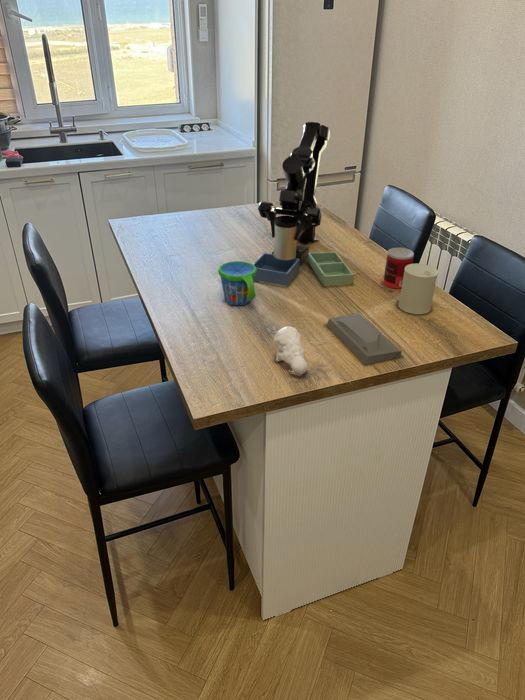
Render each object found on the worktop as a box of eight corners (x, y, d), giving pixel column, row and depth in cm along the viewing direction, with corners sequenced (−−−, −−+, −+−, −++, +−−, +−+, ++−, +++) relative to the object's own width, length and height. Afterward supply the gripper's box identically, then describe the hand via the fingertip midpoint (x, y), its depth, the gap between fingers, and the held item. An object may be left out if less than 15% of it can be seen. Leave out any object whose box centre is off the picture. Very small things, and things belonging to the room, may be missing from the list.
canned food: (410, 283, 171) (416, 250, 165) (404, 293, 165) (410, 259, 159) (386, 278, 174) (391, 245, 168) (379, 288, 168) (385, 254, 162)
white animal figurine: (297, 321, 132) (318, 350, 123) (294, 349, 137) (313, 379, 128) (272, 325, 130) (292, 355, 121) (270, 353, 135) (288, 384, 126)
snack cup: (210, 292, 163) (209, 260, 157) (243, 286, 167) (243, 255, 161) (231, 316, 151) (231, 282, 145) (265, 308, 155) (266, 275, 149)
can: (412, 317, 153) (420, 278, 146) (391, 303, 159) (397, 265, 153) (437, 310, 156) (446, 271, 150) (416, 296, 163) (423, 259, 157)
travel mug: (292, 250, 172) (294, 214, 166) (298, 259, 166) (301, 222, 160) (270, 252, 170) (271, 216, 164) (276, 261, 165) (278, 224, 158)
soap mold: (365, 364, 132) (367, 352, 130) (326, 325, 148) (327, 314, 146) (401, 356, 136) (403, 344, 134) (359, 319, 151) (361, 307, 149)
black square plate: (281, 250, 191) (281, 241, 189) (308, 254, 188) (309, 246, 186) (271, 260, 183) (272, 251, 181) (300, 265, 180) (300, 256, 179)
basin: (263, 265, 180) (263, 252, 177) (299, 272, 176) (299, 258, 174) (249, 280, 170) (249, 267, 167) (287, 287, 166) (287, 273, 164)
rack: (307, 263, 182) (308, 252, 180) (334, 261, 184) (335, 251, 182) (323, 287, 167) (324, 276, 165) (352, 285, 169) (354, 274, 167)
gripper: (260, 174, 161) (249, 223, 158) (322, 180, 157) (312, 230, 154) (266, 193, 172) (256, 239, 169) (325, 199, 168) (315, 246, 165)
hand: (284, 238), depth 164 cm, fingers closed on travel mug, 7 cm apart
